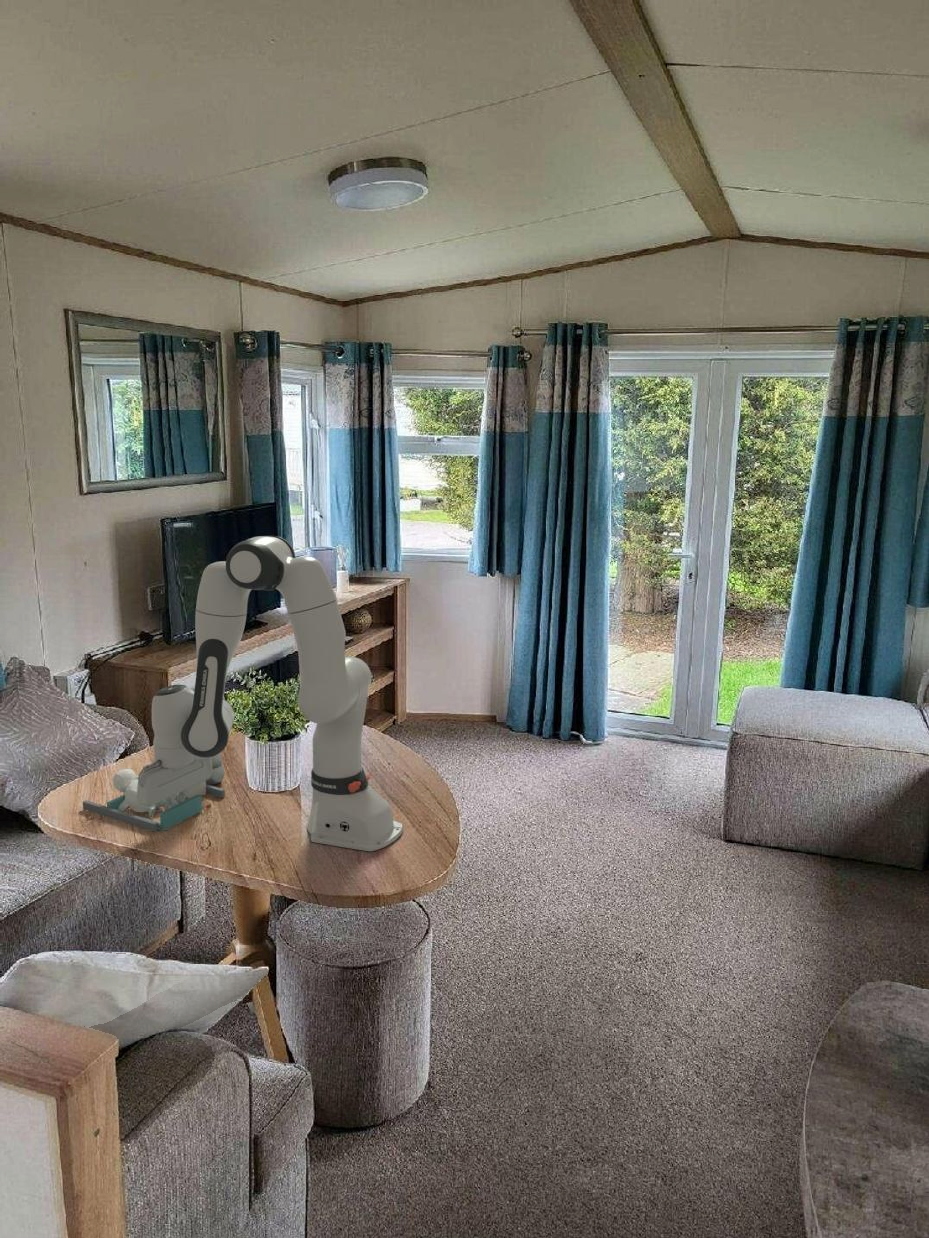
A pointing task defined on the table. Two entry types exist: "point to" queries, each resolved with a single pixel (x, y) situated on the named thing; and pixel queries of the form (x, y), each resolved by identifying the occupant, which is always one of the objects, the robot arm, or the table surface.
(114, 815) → the lane rails
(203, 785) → the grey elongated piece
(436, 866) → the table surface
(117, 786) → the white animal figurine
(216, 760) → the plastic bottle
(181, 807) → the teal sled
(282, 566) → the robot arm
